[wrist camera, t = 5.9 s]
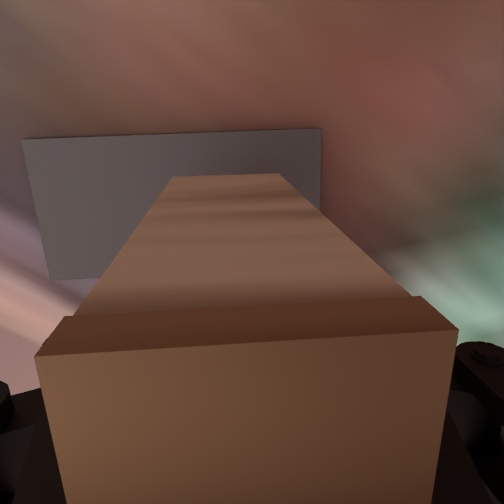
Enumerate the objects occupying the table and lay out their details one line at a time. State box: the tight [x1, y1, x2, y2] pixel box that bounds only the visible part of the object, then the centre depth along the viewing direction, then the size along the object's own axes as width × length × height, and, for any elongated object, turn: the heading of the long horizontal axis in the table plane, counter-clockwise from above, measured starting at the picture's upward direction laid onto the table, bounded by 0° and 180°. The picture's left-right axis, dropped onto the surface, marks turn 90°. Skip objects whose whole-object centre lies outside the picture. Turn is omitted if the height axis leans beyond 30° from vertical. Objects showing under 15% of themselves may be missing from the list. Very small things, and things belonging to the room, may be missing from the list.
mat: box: [21, 128, 322, 281], centre depth 29 cm, size 10×20×1 cm, turn 92°
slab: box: [34, 173, 459, 504], centre depth 11 cm, size 8×4×12 cm, turn 1°
